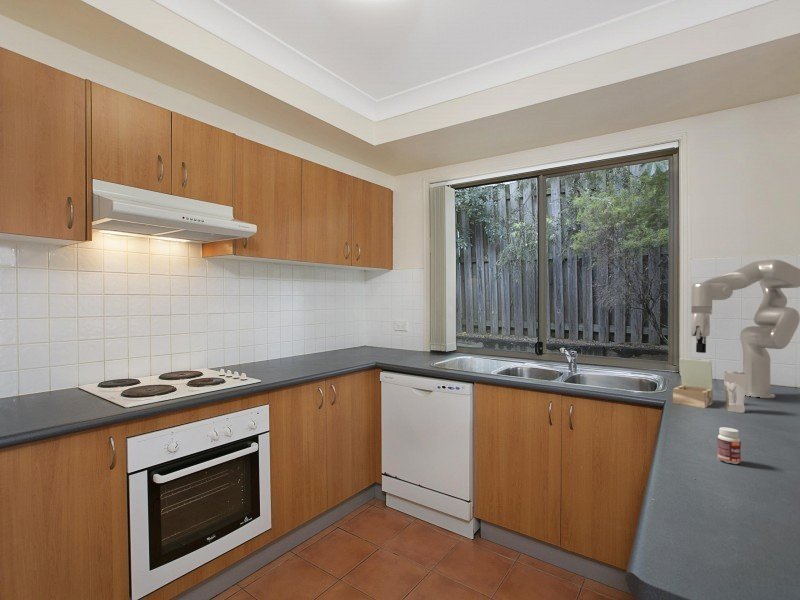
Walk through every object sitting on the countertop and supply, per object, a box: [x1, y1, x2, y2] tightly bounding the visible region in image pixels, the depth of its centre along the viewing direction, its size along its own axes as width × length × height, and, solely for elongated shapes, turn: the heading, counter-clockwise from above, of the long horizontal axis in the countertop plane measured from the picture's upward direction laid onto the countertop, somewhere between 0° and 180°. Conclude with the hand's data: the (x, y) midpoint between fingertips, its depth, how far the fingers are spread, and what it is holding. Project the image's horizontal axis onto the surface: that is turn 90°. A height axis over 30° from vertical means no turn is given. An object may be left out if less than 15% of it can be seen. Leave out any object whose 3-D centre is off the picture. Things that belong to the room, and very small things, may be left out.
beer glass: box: [723, 370, 747, 414], centre depth 162 cm, size 7×7×15 cm
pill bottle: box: [717, 426, 742, 462], centre depth 109 cm, size 5×5×8 cm
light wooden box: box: [672, 384, 714, 409], centre depth 175 cm, size 12×11×6 cm
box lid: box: [679, 357, 714, 389], centre depth 178 cm, size 12×11×2 cm
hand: (701, 352), depth 184 cm, fingers closed
